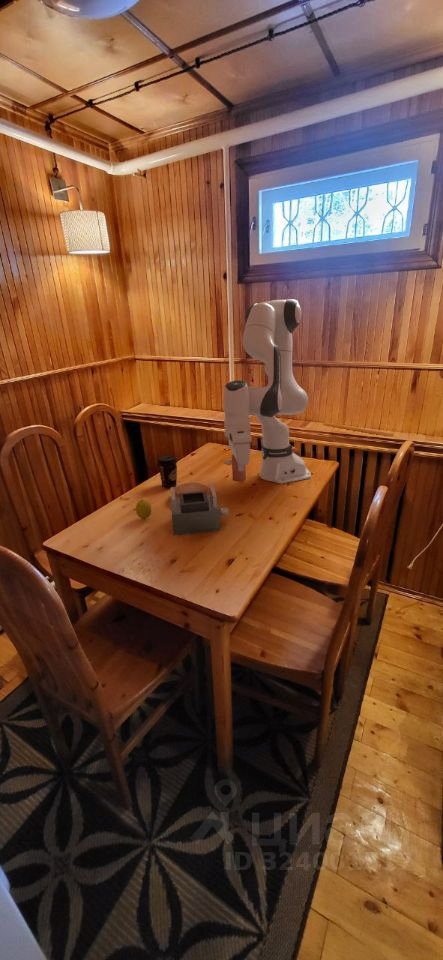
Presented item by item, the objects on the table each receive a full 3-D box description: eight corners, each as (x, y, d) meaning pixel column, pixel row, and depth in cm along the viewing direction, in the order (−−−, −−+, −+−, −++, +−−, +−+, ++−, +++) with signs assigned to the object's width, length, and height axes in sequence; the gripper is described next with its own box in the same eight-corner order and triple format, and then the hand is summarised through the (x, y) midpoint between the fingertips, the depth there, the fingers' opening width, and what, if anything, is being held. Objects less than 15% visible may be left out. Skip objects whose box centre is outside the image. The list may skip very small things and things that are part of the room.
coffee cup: (181, 482, 180) (179, 454, 175) (177, 490, 173) (175, 461, 168) (162, 481, 181) (159, 454, 176) (157, 489, 174) (154, 461, 169)
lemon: (155, 516, 152) (152, 497, 149) (147, 523, 147) (145, 503, 144) (141, 514, 154) (139, 495, 150) (134, 521, 149) (131, 502, 146)
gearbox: (226, 513, 152) (224, 481, 147) (231, 529, 141) (230, 495, 136) (172, 518, 150) (169, 486, 145) (173, 535, 139) (170, 501, 134)
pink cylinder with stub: (244, 475, 150) (243, 451, 146) (247, 480, 146) (246, 456, 142) (224, 477, 150) (222, 453, 145) (226, 483, 145) (225, 458, 141)
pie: (163, 500, 164) (162, 489, 162) (191, 488, 174) (191, 477, 172) (190, 512, 154) (189, 500, 152) (218, 497, 165) (217, 486, 163)
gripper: (223, 422, 149) (225, 457, 155) (233, 440, 131) (235, 479, 137) (240, 420, 150) (241, 455, 156) (252, 438, 131) (253, 477, 137)
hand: (238, 467), depth 146 cm, fingers closed on pink cylinder with stub, 5 cm apart
